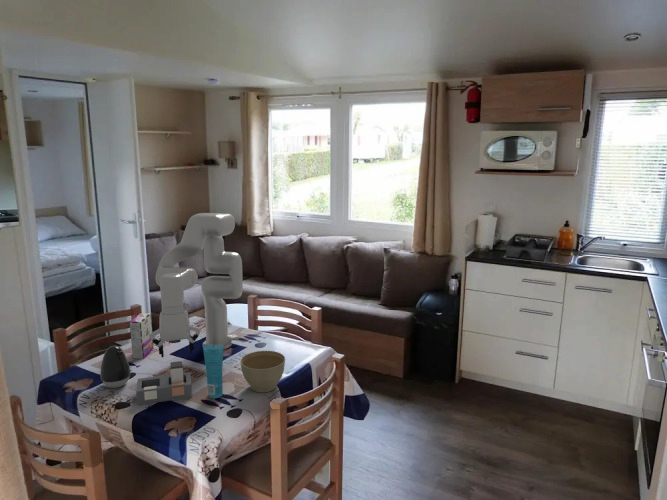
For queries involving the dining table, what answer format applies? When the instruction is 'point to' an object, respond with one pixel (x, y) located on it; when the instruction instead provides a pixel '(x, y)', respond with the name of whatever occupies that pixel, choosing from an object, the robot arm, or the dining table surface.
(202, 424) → the dining table surface
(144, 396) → the socket box
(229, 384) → the dining table surface
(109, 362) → the dark grey egg
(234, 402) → the dining table surface
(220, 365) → the tube
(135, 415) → the dining table surface
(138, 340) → the candy bar box
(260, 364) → the planter bowl
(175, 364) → the plug
